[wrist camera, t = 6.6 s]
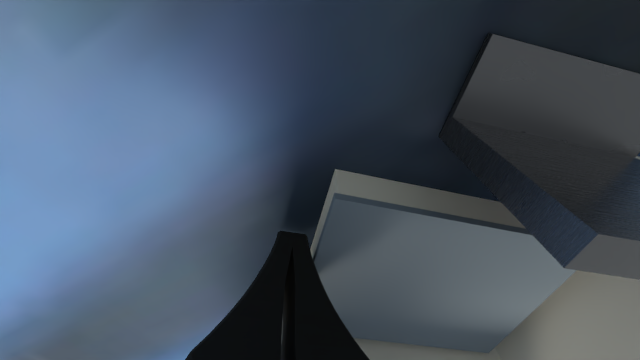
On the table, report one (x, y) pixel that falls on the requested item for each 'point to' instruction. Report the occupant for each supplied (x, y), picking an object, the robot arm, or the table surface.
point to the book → (428, 264)
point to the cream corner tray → (554, 327)
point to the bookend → (556, 150)
